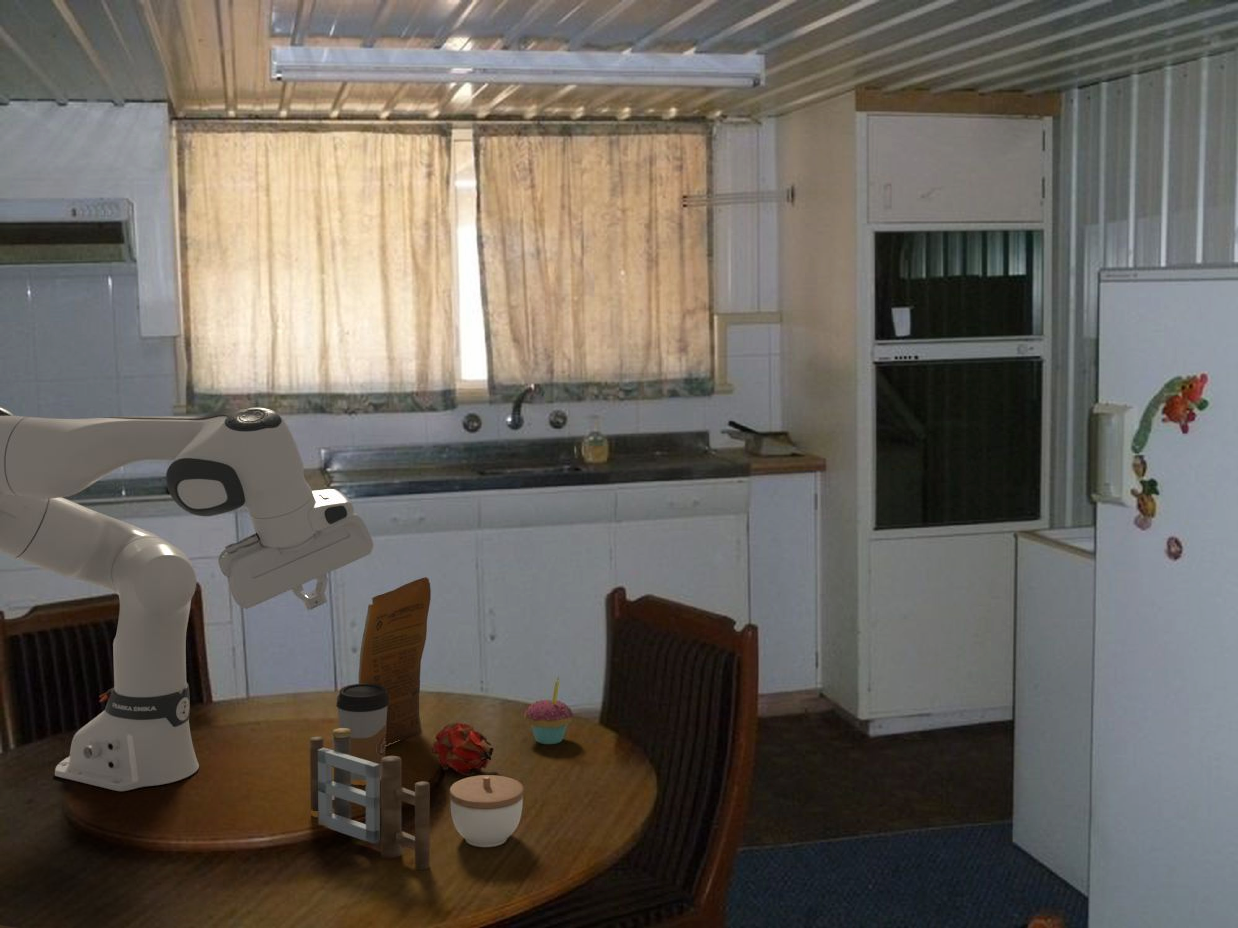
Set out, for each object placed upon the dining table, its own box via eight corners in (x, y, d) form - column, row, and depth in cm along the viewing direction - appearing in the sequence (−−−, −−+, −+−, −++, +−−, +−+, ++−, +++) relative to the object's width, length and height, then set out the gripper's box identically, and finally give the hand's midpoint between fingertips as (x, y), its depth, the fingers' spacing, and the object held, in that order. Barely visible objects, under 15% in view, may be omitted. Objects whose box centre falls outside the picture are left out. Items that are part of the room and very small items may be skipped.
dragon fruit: (438, 767, 231) (487, 795, 224) (410, 750, 225) (460, 778, 217) (464, 723, 233) (514, 749, 226) (437, 705, 227) (487, 731, 220)
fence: (294, 820, 204) (293, 726, 202) (320, 810, 208) (318, 718, 206) (419, 871, 187) (419, 770, 185) (444, 860, 191) (445, 761, 189)
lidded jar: (493, 860, 192) (493, 796, 190) (434, 842, 197) (434, 780, 196) (537, 834, 201) (538, 773, 199) (479, 818, 206) (480, 758, 205)
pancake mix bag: (443, 728, 246) (443, 577, 242) (371, 758, 230) (370, 597, 226) (414, 721, 250) (414, 572, 246) (341, 750, 233) (340, 591, 230)
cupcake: (581, 738, 242) (582, 673, 241) (554, 751, 235) (555, 684, 234) (542, 728, 247) (543, 664, 245) (514, 741, 240) (514, 675, 238)
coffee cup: (377, 791, 216) (377, 699, 214) (328, 786, 218) (327, 695, 215) (396, 772, 224) (396, 684, 222) (349, 767, 226) (348, 680, 224)
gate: (380, 840, 195) (379, 764, 193) (374, 843, 194) (373, 766, 192) (324, 822, 201) (323, 747, 199) (318, 824, 200) (317, 749, 198)
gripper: (220, 559, 178) (253, 645, 184) (362, 499, 186) (389, 583, 193) (207, 543, 183) (239, 627, 189) (346, 484, 192) (372, 567, 198)
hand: (316, 604), depth 191 cm, fingers closed
